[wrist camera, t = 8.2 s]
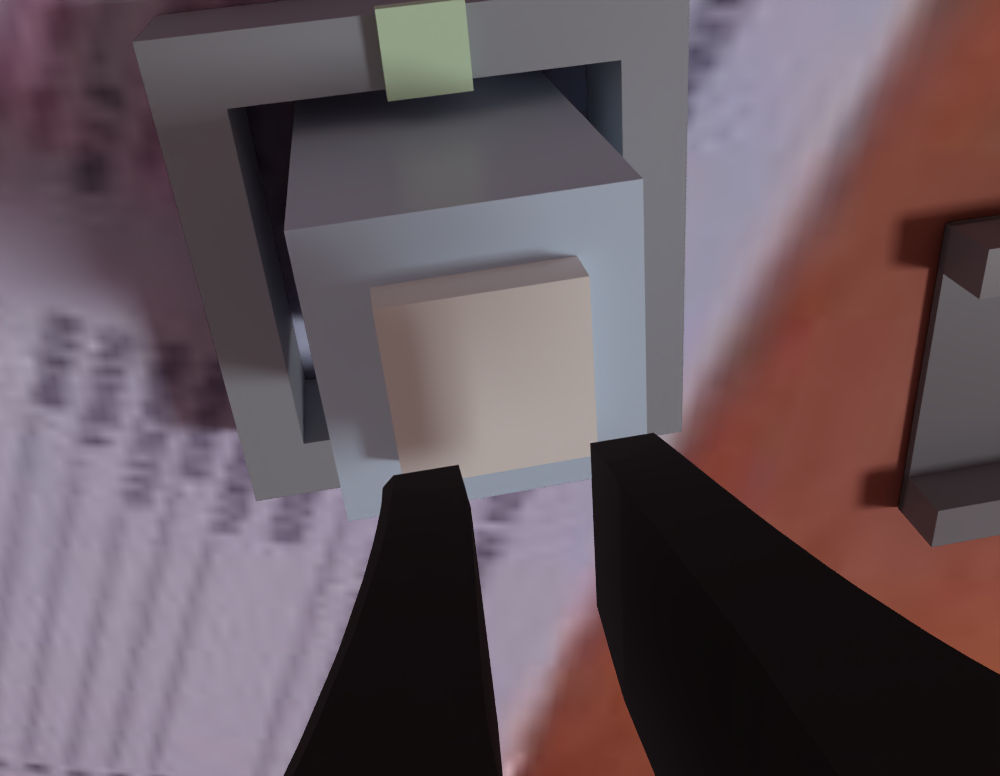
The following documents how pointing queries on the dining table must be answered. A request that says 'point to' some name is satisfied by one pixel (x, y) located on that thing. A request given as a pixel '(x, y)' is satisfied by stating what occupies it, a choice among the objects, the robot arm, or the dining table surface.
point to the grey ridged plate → (959, 394)
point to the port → (405, 75)
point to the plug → (467, 285)
